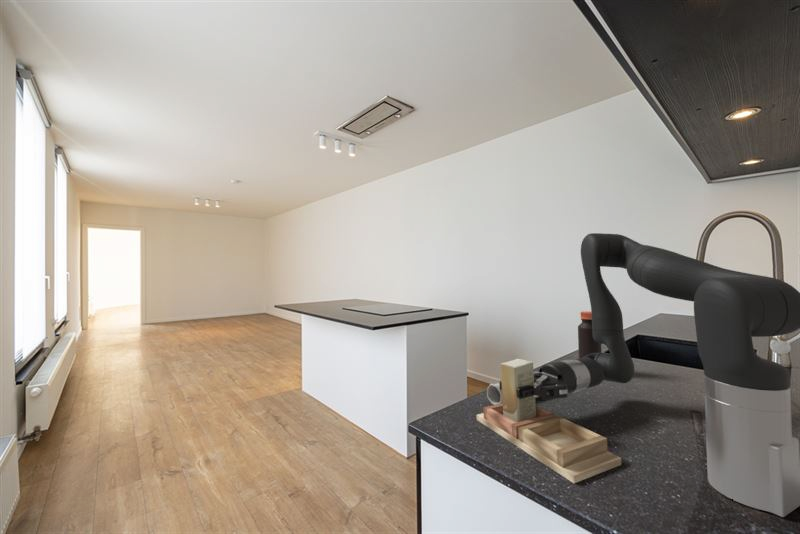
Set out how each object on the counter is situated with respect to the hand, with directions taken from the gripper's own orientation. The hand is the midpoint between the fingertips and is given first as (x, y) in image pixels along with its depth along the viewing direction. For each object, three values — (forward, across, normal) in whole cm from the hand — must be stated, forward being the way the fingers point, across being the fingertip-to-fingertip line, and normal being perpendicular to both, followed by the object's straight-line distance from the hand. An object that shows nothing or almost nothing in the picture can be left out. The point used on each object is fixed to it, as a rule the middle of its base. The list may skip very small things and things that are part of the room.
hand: (509, 389), depth 72 cm
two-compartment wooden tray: (-3, +6, +9) cm, 11 cm away
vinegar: (-53, -20, +10) cm, 58 cm away
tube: (-18, -12, +8) cm, 23 cm away
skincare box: (-3, 0, +7) cm, 7 cm away
